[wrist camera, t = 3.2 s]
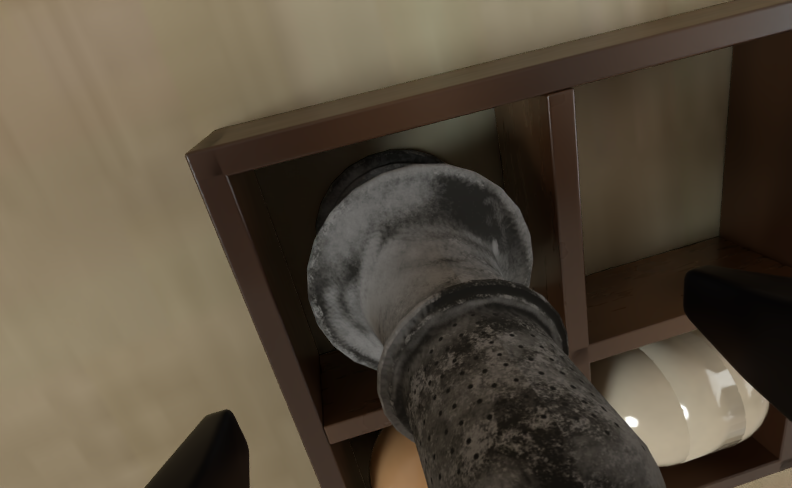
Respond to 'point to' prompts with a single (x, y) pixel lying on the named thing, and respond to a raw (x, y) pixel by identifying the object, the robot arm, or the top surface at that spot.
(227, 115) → the top surface
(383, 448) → the brown egg
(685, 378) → the cream egg
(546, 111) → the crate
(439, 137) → the top surface
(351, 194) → the grey chess piece
